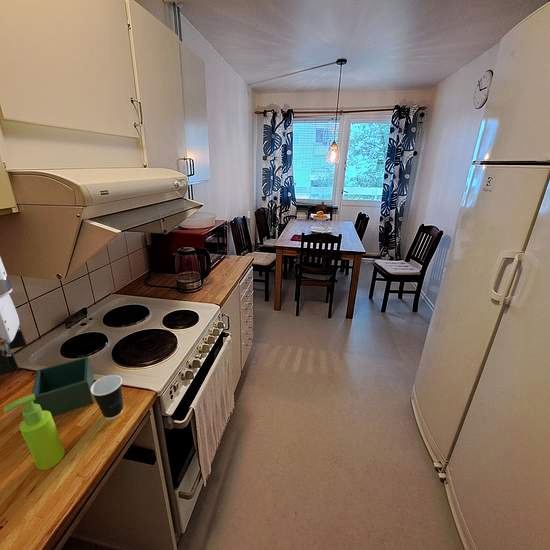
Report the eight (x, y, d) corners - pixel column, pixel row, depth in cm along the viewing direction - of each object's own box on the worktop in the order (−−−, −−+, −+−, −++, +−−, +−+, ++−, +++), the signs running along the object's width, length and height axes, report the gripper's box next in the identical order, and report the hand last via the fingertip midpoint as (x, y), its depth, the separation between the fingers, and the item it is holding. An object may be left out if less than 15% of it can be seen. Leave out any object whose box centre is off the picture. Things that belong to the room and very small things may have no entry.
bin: (38, 421, 82) (29, 398, 79) (45, 390, 93) (37, 369, 90) (93, 403, 89) (87, 381, 85) (93, 376, 99) (88, 356, 96)
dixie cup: (105, 403, 89) (98, 375, 85) (132, 401, 89) (126, 373, 85) (93, 425, 81) (84, 395, 77) (122, 423, 82) (115, 394, 78)
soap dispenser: (28, 461, 71) (1, 401, 64) (61, 443, 76) (39, 384, 69) (33, 478, 68) (5, 416, 60) (67, 457, 72) (45, 397, 65)
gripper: (-27, 277, 62) (1, 343, 68) (-60, 312, 48) (-21, 390, 54) (18, 271, 65) (40, 334, 72) (-1, 301, 52) (29, 376, 58)
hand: (14, 358), depth 63 cm, fingers open, 9 cm apart
